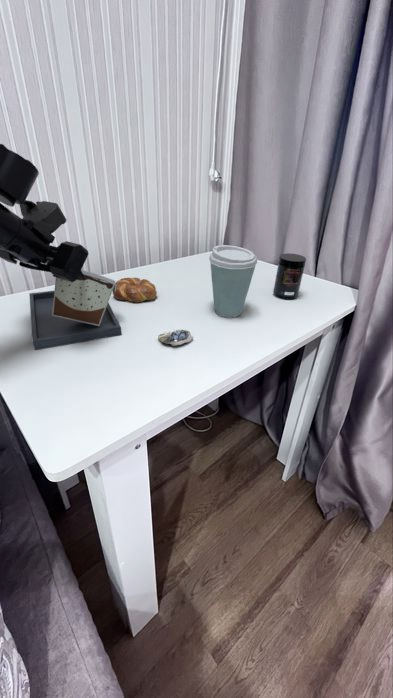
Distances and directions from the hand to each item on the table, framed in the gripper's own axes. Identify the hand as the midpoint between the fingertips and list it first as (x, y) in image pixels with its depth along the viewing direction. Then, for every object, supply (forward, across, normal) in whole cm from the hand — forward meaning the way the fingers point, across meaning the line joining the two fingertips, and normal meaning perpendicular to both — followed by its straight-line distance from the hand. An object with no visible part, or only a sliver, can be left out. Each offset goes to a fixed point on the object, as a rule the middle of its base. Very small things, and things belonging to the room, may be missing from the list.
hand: (72, 274), depth 67 cm
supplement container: (+38, -33, -21) cm, 54 cm away
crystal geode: (+12, -21, +4) cm, 25 cm away
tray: (+8, +3, +7) cm, 11 cm away
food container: (+5, 0, +8) cm, 9 cm away
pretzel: (+21, 0, -5) cm, 21 cm away
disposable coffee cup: (+24, -25, -8) cm, 36 cm away
